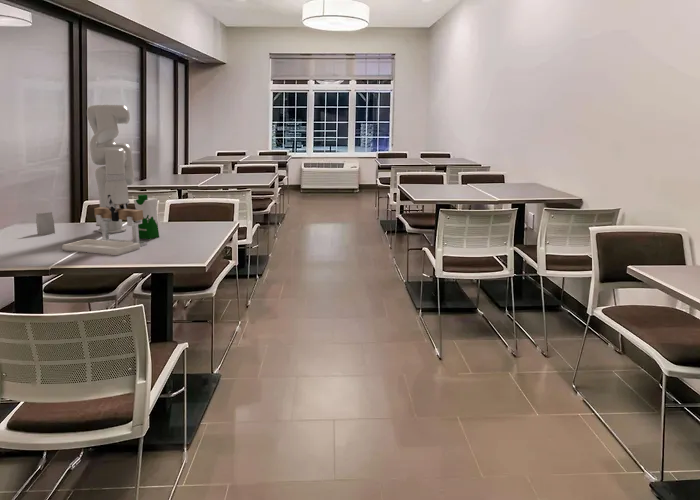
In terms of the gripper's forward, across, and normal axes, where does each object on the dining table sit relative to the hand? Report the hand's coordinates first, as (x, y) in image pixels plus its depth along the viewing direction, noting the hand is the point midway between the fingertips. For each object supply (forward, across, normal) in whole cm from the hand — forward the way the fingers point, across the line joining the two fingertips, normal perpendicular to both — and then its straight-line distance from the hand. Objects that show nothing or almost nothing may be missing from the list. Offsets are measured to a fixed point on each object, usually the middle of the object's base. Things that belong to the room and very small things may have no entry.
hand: (119, 219), depth 261 cm
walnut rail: (-1, 0, 0) cm, 1 cm away
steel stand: (+11, 0, 0) cm, 11 cm away
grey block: (+12, -10, -51) cm, 53 cm away
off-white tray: (+11, +12, 0) cm, 16 cm away
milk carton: (+11, -17, +2) cm, 20 cm away
